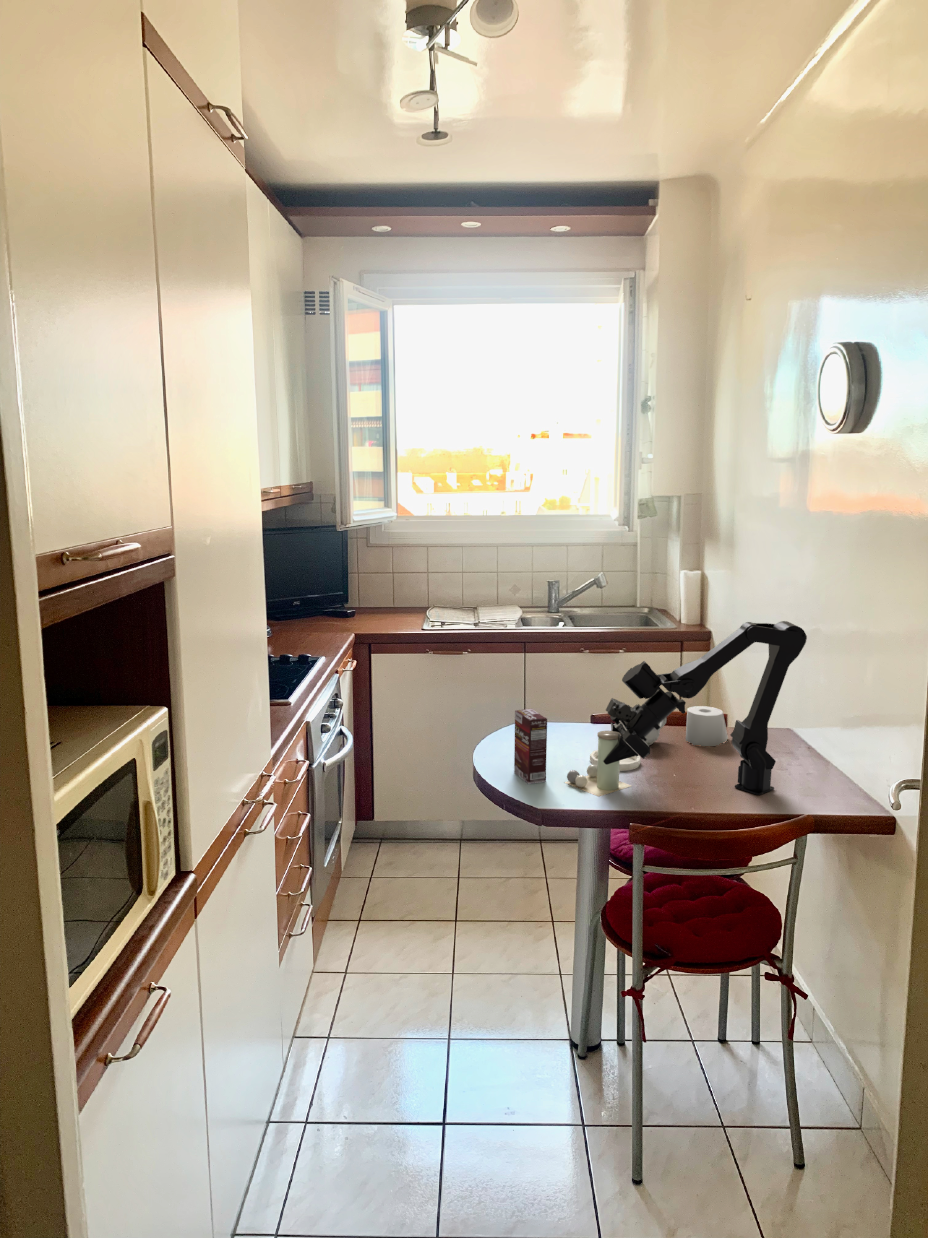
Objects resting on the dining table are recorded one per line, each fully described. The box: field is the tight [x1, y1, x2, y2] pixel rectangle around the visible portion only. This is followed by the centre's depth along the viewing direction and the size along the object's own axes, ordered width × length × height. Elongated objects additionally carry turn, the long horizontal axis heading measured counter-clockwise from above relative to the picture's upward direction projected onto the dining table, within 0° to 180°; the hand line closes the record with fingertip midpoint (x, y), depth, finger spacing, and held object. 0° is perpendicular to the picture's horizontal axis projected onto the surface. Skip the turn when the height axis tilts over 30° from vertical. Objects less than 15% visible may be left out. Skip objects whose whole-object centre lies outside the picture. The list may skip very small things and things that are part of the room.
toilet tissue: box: [685, 705, 729, 747], centre depth 237 cm, size 9×13×9 cm
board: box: [563, 774, 632, 798], centre depth 203 cm, size 11×11×1 cm
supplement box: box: [513, 708, 548, 785], centre depth 206 cm, size 9×5×16 cm, turn 21°
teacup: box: [645, 717, 668, 746], centre depth 235 cm, size 14×11×8 cm
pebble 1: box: [566, 769, 581, 783], centre depth 204 cm, size 3×3×3 cm
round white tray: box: [589, 749, 642, 772], centre depth 218 cm, size 12×12×2 cm
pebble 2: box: [575, 774, 587, 788], centre depth 201 cm, size 3×3×3 cm
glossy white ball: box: [586, 764, 597, 777], centre depth 208 cm, size 3×3×3 cm
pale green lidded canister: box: [597, 730, 622, 791], centre depth 201 cm, size 5×5×12 cm
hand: (602, 759), depth 201 cm, fingers closed on pale green lidded canister, 5 cm apart
